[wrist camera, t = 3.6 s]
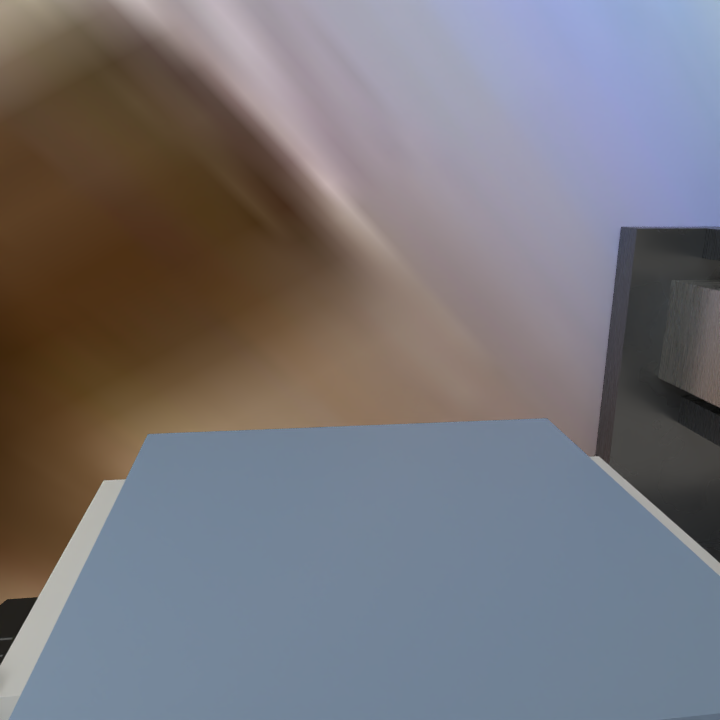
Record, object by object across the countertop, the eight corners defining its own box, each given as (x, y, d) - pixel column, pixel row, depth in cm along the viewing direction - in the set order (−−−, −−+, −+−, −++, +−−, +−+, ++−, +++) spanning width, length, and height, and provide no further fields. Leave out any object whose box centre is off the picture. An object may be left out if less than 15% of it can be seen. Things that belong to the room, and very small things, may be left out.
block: (147, 434, 16) (-27, 791, 7) (546, 418, 18) (854, 698, 8) (158, 550, 17) (18, 1000, 8) (535, 526, 19) (799, 887, 9)
